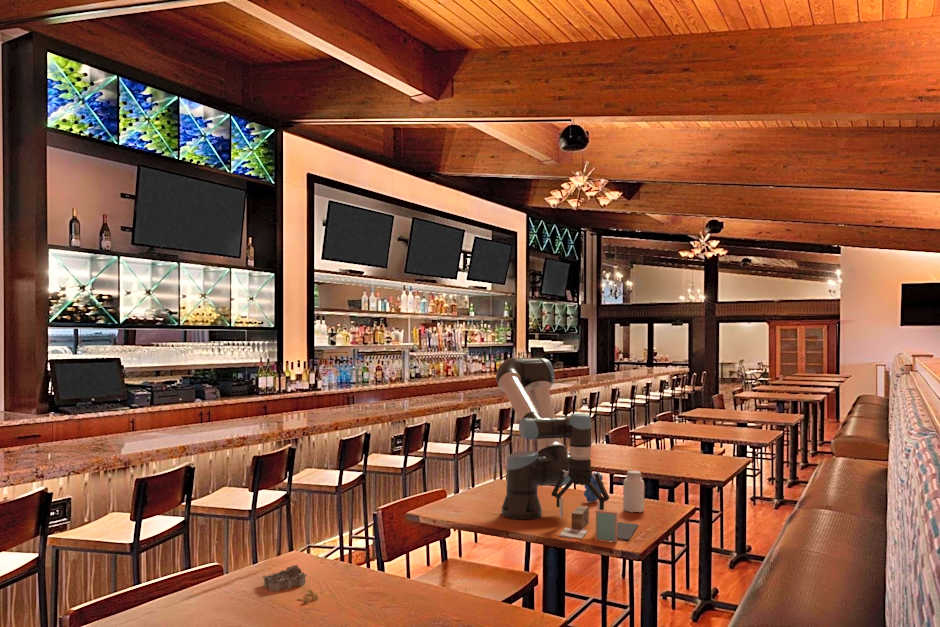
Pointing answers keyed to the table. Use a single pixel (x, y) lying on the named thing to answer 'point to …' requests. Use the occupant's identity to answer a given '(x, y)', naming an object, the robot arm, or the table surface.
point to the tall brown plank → (577, 523)
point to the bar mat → (626, 530)
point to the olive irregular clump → (308, 596)
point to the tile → (606, 525)
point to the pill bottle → (633, 492)
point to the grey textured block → (285, 579)
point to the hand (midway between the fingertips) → (579, 518)
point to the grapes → (589, 493)
